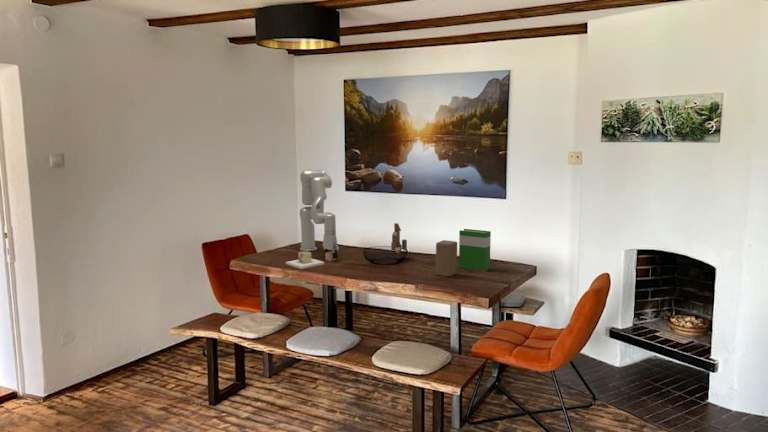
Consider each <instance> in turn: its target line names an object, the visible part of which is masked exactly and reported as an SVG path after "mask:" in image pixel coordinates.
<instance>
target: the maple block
mask: <svg viewBox="0 0 768 432" xmlns="http://www.w3.org/2000/svg"><path fill="white" fill-rule="evenodd" d="M297 254H298V255H297V256H298V260H299V262H302V263H307V262H312V261H311V258H312V252H311V251H301V252H298V253H297Z"/></svg>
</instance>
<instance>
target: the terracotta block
mask: <svg viewBox="0 0 768 432" xmlns="http://www.w3.org/2000/svg"><path fill="white" fill-rule="evenodd" d="M324 257H325V261H328V262H329V261H330V262H333V261H336V260H337V258H336V259H333V251H328V252H326V253H325V256H324Z"/></svg>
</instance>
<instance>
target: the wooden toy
mask: <svg viewBox="0 0 768 432" xmlns="http://www.w3.org/2000/svg"><path fill="white" fill-rule="evenodd" d="M393 229H394V230H393V232H392V235H391V246H390V247H391V248H390V249H391V250H395V252H396V253H398V254H399V252H400V251H401V249H404V250H406V251H407V252H408V249H407V248H408V247H407V243H408V241H407V239H401V237H400V235H401V231H402V229H401V227H400V224H399V223H398V222H397V223H396V222H395V223H394V228H393ZM407 257H408V255H407V256H406V259H407Z"/></svg>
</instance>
